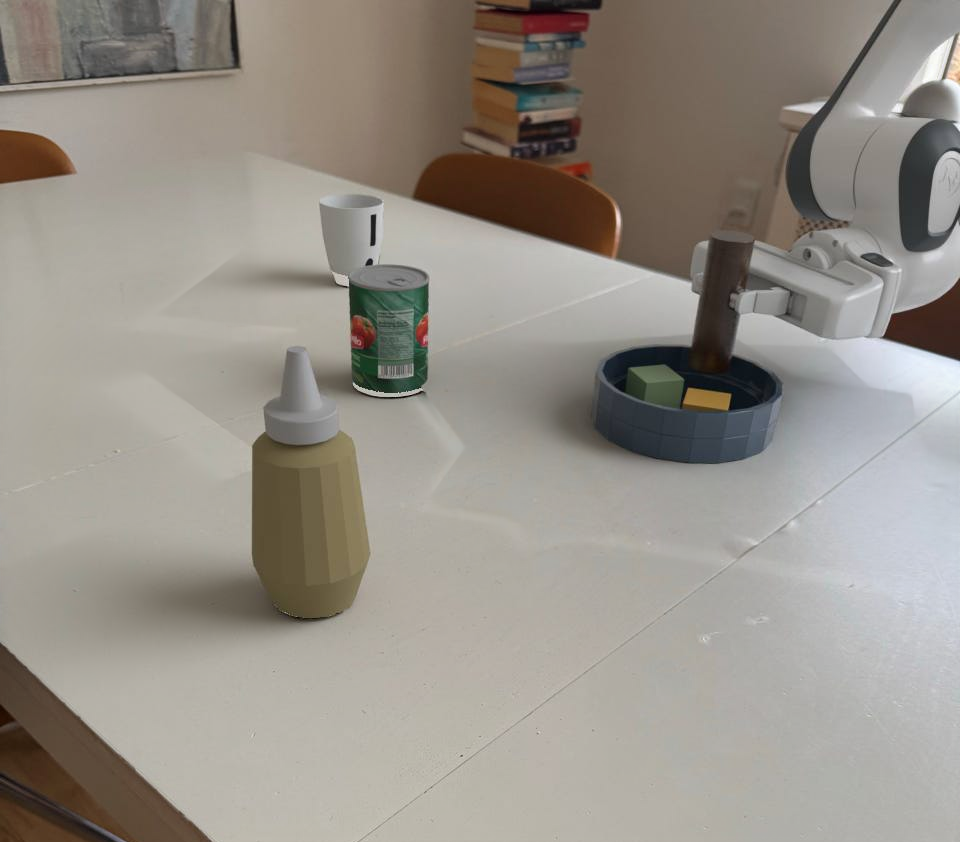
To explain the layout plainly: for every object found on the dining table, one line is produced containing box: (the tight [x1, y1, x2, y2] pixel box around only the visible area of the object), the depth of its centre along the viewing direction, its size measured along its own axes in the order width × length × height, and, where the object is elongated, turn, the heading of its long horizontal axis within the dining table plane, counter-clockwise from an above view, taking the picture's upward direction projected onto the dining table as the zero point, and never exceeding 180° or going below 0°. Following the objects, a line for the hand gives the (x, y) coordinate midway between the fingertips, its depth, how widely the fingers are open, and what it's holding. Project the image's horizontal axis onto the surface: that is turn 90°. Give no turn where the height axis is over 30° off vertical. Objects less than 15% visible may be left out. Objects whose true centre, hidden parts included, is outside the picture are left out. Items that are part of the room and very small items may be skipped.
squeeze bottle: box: [251, 345, 371, 620], centre depth 65 cm, size 8×8×18 cm
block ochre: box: [682, 388, 731, 411], centre depth 92 cm, size 4×4×4 cm
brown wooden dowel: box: [688, 229, 756, 374], centre depth 93 cm, size 4×4×12 cm
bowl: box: [590, 343, 784, 464], centre depth 95 cm, size 17×17×6 cm
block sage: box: [625, 365, 684, 409], centre depth 97 cm, size 4×4×4 cm
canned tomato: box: [348, 263, 430, 393], centre depth 100 cm, size 8×8×11 cm
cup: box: [318, 193, 385, 276], centre depth 128 cm, size 8×8×10 cm
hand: (715, 294), depth 92 cm, fingers closed on brown wooden dowel, 4 cm apart
